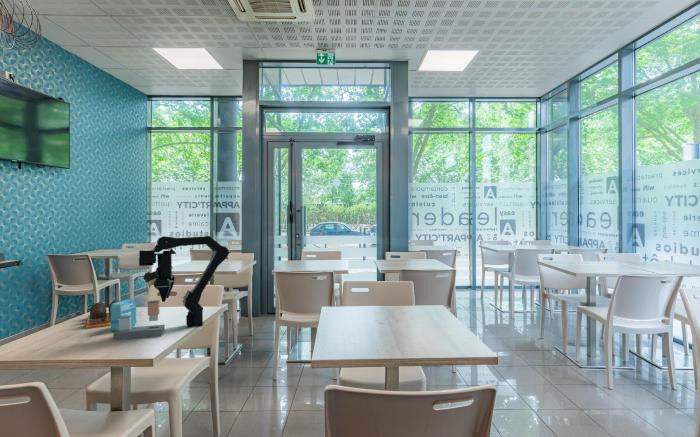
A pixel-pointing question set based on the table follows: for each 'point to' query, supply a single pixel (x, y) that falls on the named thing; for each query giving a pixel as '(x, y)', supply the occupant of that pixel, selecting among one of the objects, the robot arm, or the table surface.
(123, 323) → the grey plug
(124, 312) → the data package
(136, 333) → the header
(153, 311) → the brown rectangular block
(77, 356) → the table surface
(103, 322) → the chocolates on board
